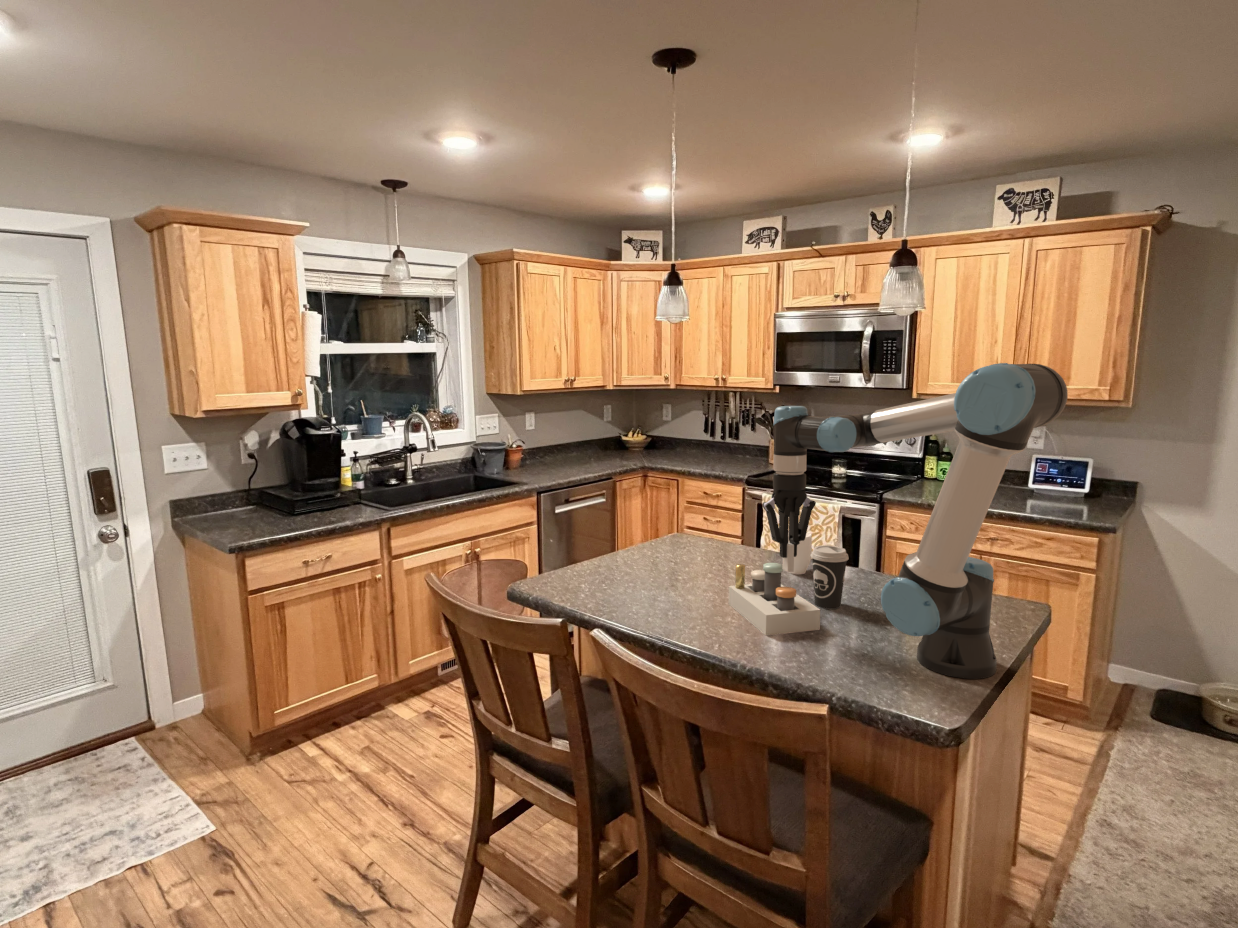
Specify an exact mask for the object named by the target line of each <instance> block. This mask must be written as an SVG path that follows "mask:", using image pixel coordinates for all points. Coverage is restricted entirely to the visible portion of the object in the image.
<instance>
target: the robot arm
mask: <svg viewBox="0 0 1238 928" xmlns="http://www.w3.org/2000/svg"><path fill="white" fill-rule="evenodd" d="M1068 393H1069V392H1068V385H1067V384H1066V381H1065V380H1064V378H1063V377H1062V375H1060V373H1058V372H1057V371H1056V370H1055V369H1053V368H1051V367H1049V366H1047V365H1043V364H1041V363H1008V362H999V363H994V364H990V365H985V366H982V367H979V368H977V369H975V370H973V371H971V372H970V373H969V374H968V375H967V376H965V378H964V379H962V381H961V382H960V383H959V386H957V389H956V392H954V393H949V394H945V395H941V396H935V397H931V398H927V399H922V400H918V401H912V402H909V403H904V404H899V405H895V406H891V407H886V408H880V409H876V410H871V411H866V412H861V413H854V414H843V415H831V416H830V415H828V416H823V415H821V416H817V415H809V413H808V408H807V407H806V406H803V405H784V406H783V405H781V406H777V407H775V410H774V416H773V424H772V426H773V456H772V457H773V461H772V462H773V463H772V465H773V467H772V468H773V469H772V470H773V471H774V473H773V474H772V489H773V492H772V495H771V497H770V499H769V500H768V501H764V502H762V504H761V505H762V507H763V509H764V511H765V513H766V517H767V521H768V526H769V531H770V536H771V540H772V541H774V542H776V543H777V544H779V557H781V558H782V565H783V567H782V569H783V571H785V572H787V573H789V572H794V557H796V556H797V545H798V544H799V543H800V541H804V540H805V537H806V533H807V532H808V527H809V524H810V523H809V522H810V520H811V516H812V512H813V509H814V507H815V506H816V504H817V503H816V500H813V499H810V498H809V497H808V494H807V493H806V488H807V474H806V473H805V472H806V471H807V453H808V452H807V450H817V451H825V452H828V453H844V452H847V451H849V450H850V449H851V448H860V447H872V446H876V445H878V444H879V445H880V444H883V443H889V442H896V441H901V440H906V439H907V440H908V439H914V438H919V437H926V436H932V435H937V434H944V433H949V432H955V434H956V435H957V437H958V439H959V441H958V444H957V446H956V450H955V452H954V455H953V456H952V457H953V458H952V460H951V461H950V462H951V463H950V465H949V467H948V470H947V473H946V475H945V478H944V481H943V483H942V486H941V488H940V491H939V494H938V496H937V499H936V500H935V504H934V506H933V509H932V512H931V514H930V516H929V519H928V522H927V524H926V527H925V529H924V532H923V535H922V537H921V539H920V542H919V544H918V547H917V550H916V551H915V552H912V553H909V554H907V555H906V557H905V558H904V560H903V563H902V566H901V569H900V570H899V573H898V576H896V577H893V578H891V579H890V580H889V581H887V582H886V583H885V585H884V586H883V587H882V589H881V593H880V603H881V608H882V610H883V612H884V614H885V616H886V617H885V618H887V620H888V621H889V622H890V624H891V625H892V626H893V627H894V628H895V629H897V630H898V631H899V632H901V633H903V634H905V635H908V636H912V637H921V639H920V642H918V645H917V648H916V659H917V661H918V662H919V664H921V665H922V666H923V667H924V668H926V669H928V670H930V671H933V672H935V673H938V674H941V675H945V676H949V677H953V678H959V679H968V680H971V679H972V680H974V679H976V680H977V679H985V678H990V677H992V676H993V675H995V674H996V672H997V665H998V664H997V663H998V662H997V661H998V660H997V656H996V654H995V648H994V645H993V643H992V639H991V635H990V627H991V626H990V625H991V614H992V604H993V602H992V601H993V592H994V591H993V588H994V583H995V579H994V567H993V566H992V564H991V563H989V562H987V561H985V560H983V559H980V558H977V557H976V558H975V557H972V556H970V554H971V552H972V549H973V546H974V545H975V542H976V540H977V537H978V535H979V532H980V530H981V528H982V525H983V523H984V521H985V518H986V516H987V513H988V511H989V509H990V507H991V504H992V502H993V499H994V497H995V494H996V492H997V490H998V488H999V485H1000V482H1001V480H1002V478H1003V476H1004V474H1005V471H1006V468H1007V466H1008V463H1009V462H1010V459H1011V457H1012V456H1013V455H1017V454H1019V453H1022V452H1024V451H1025V449H1026V446H1027V445H1028V443H1029V440H1030V437H1031V435H1032V433H1033V430H1034V429H1036V428H1040V427H1043V426H1045V425H1048V424H1049V423H1052V422H1053V421H1054V420H1055V419H1057V418H1058V417H1059V416H1060V415H1061V414H1062V412H1063V411H1064V409H1065V408H1066V404H1067V403H1068ZM776 508H777V512H778V518H777V514H776V510H775V509H776ZM778 520H779V521H778ZM788 531H789V541H790V543H789V542H788Z"/></svg>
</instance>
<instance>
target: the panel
mask: <svg viewBox="0 0 1238 928" xmlns="http://www.w3.org/2000/svg"><path fill="white" fill-rule="evenodd" d="M781 587H786V586H785V585H783V584H782V583H781ZM728 605H729V606H730V607H731V608H732V609H734V610H735V611H736V612H737V613H738V614H739V615H740V616H742V617H743V618H744V619H746V620H747V621H748V622H749V623H750V624H751V625H753V626H754V627H755V628H756V629H757V630H758V631H759V632H761V633H762V634H763V635H764V636H767V637H769V636H774V635H784V634H792V633H793V634H794V633H803V632H810V631H811V632H812V631H820V630H821V629H820V628H821V627H820V626H821V609H820V607H819V608H818V606H816V605H814V604H812V603H811V602H810V601H809V600H807V599H805V598H803V597H802V596H800V595H799V594H798V593H796V597H794V610H788V611H780V610H779V609H777V601H766V600H765V599H764V592H754V591H753V590H752V583H745V588H744V589H737V588H735V584H733V585H729V586H728Z"/></svg>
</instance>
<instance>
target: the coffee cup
mask: <svg viewBox="0 0 1238 928" xmlns="http://www.w3.org/2000/svg"><path fill="white" fill-rule="evenodd" d="M810 556H811V561H812V576H813V579H812V580H813V593H814V594H813V595H814V604H815V605H814V606H816V607H817V608H818V607H819V608H821V609H827V610H828V609H829V610H835V609H839V608H841V605H842V596H843V590H844V581H845V574H846V568H847V567H846V566H847V561H848V560H849V554H848V553H847V550H846V548H843V547H841V546H836V545H829V544H827V545H826V544H825V545H824V544H823V545H822V544H821V545H815V546H814V548H813V549H812V553H811V555H810Z"/></svg>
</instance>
